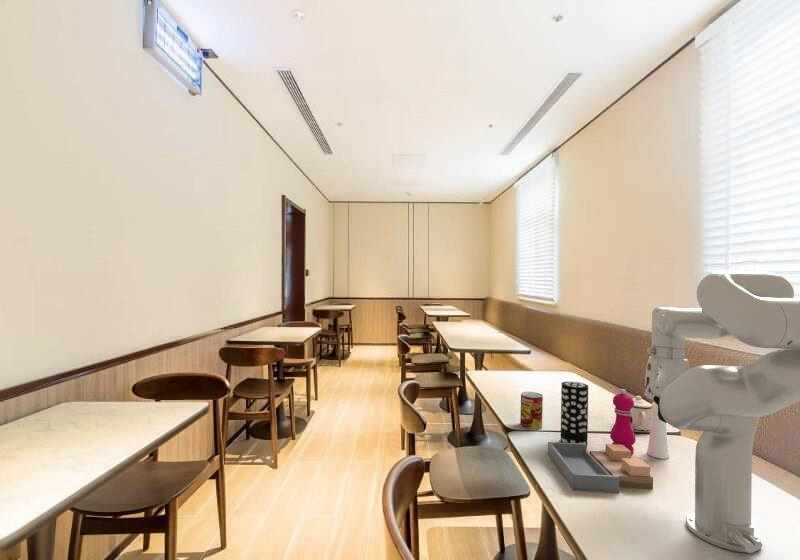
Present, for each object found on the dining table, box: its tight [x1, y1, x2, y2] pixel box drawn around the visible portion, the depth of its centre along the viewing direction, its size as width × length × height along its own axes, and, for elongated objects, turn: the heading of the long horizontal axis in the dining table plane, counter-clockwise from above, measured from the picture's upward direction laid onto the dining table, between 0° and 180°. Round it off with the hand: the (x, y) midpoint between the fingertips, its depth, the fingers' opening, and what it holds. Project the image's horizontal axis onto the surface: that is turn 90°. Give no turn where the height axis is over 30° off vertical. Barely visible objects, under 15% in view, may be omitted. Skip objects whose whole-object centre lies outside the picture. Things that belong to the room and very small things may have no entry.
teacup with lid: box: [630, 395, 652, 432], centre depth 153 cm, size 12×9×12 cm
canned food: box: [519, 391, 544, 431], centre depth 152 cm, size 8×8×12 cm
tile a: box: [622, 457, 651, 477], centre depth 109 cm, size 5×5×2 cm
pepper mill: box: [609, 388, 637, 455], centre depth 131 cm, size 7×7×20 cm
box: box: [547, 441, 620, 494], centre depth 115 cm, size 22×12×4 cm, turn 176°
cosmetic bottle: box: [646, 401, 670, 460], centre depth 128 cm, size 6×6×22 cm
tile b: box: [605, 443, 632, 460], centre depth 119 cm, size 5×5×2 cm
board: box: [589, 450, 654, 490], centre depth 115 cm, size 16×10×3 cm, turn 176°
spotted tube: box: [560, 381, 589, 445], centre depth 136 cm, size 8×8×20 cm
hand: (666, 420), depth 109 cm, fingers closed
